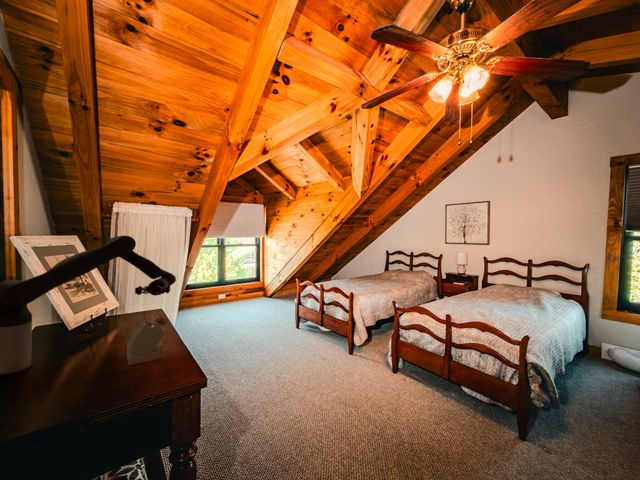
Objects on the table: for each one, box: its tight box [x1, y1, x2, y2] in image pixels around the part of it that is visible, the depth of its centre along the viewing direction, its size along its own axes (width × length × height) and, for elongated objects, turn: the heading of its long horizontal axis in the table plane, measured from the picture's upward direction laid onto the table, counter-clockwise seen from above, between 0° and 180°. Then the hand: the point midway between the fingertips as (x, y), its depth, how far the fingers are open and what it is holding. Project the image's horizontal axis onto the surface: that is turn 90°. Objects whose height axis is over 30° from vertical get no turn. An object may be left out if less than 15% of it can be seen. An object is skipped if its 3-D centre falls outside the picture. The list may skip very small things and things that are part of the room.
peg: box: [151, 315, 169, 330], centre depth 120 cm, size 4×4×14 cm
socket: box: [126, 319, 167, 366], centre depth 119 cm, size 13×11×15 cm
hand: (149, 292), depth 129 cm, fingers open, 8 cm apart
